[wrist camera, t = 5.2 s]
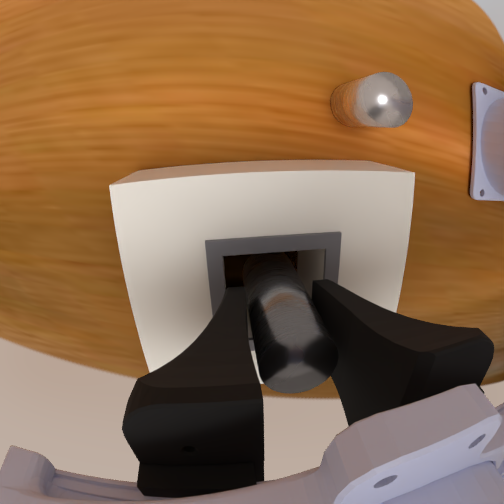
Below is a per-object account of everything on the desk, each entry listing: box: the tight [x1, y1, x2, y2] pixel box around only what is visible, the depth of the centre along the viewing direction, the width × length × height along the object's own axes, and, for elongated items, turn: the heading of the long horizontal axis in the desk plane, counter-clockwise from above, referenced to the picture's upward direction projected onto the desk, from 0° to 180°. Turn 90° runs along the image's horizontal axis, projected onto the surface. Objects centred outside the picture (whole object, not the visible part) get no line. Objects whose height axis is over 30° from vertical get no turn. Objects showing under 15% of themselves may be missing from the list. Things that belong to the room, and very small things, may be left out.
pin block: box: [109, 160, 415, 384], centre depth 15 cm, size 12×10×5 cm
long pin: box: [242, 252, 338, 393], centre depth 12 cm, size 2×2×6 cm
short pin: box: [330, 72, 413, 127], centre depth 13 cm, size 2×2×4 cm
